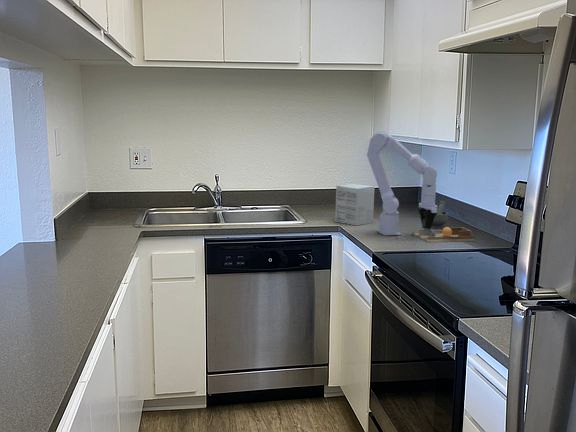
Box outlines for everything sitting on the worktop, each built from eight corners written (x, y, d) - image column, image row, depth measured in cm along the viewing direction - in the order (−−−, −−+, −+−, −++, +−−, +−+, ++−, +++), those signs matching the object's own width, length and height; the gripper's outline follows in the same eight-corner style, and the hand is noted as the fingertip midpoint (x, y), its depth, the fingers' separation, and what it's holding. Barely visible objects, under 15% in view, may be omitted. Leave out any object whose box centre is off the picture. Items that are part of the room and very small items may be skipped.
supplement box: (351, 218, 284) (353, 183, 281) (373, 222, 275) (375, 186, 272) (334, 221, 275) (335, 185, 272) (356, 226, 266) (357, 188, 263)
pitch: (413, 234, 250) (413, 224, 249) (456, 233, 254) (456, 224, 253) (428, 242, 235) (428, 232, 234) (473, 241, 238) (474, 231, 237)
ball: (440, 235, 243) (440, 226, 242) (448, 235, 244) (449, 226, 243) (444, 237, 239) (444, 228, 239) (453, 237, 240) (453, 227, 239)
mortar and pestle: (441, 230, 258) (443, 204, 256) (422, 227, 264) (423, 201, 262) (452, 227, 267) (453, 201, 265) (433, 224, 273) (435, 199, 271)
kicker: (420, 232, 248) (421, 218, 247) (428, 232, 248) (429, 218, 247) (429, 237, 239) (430, 222, 238) (437, 236, 239) (438, 222, 238)
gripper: (444, 197, 237) (442, 230, 239) (430, 192, 251) (428, 223, 253) (428, 197, 236) (426, 230, 238) (414, 192, 250) (413, 223, 252)
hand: (426, 226), depth 246 cm, fingers closed on kicker, 3 cm apart
